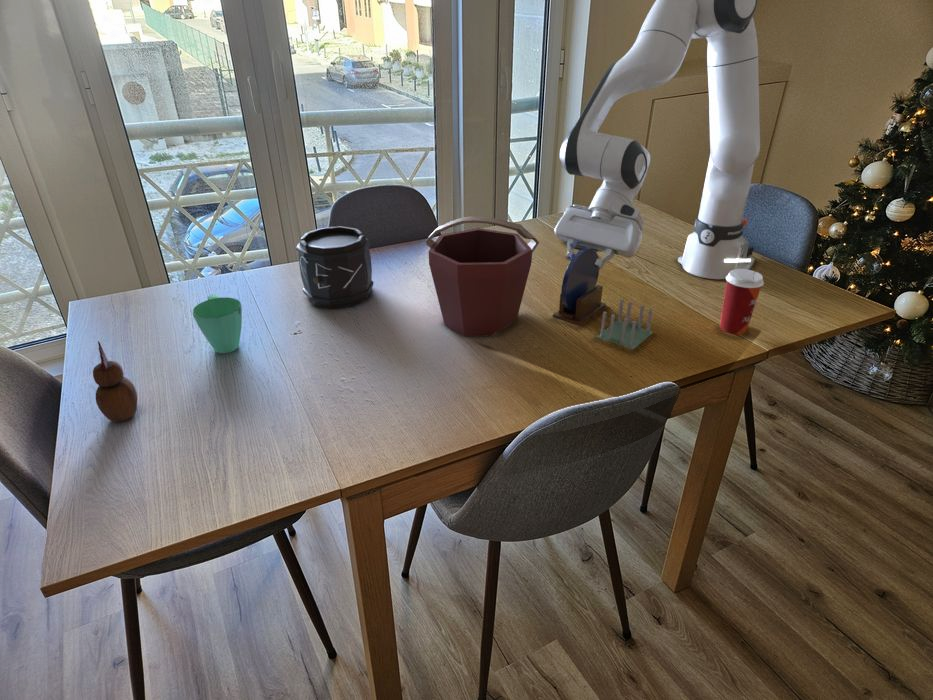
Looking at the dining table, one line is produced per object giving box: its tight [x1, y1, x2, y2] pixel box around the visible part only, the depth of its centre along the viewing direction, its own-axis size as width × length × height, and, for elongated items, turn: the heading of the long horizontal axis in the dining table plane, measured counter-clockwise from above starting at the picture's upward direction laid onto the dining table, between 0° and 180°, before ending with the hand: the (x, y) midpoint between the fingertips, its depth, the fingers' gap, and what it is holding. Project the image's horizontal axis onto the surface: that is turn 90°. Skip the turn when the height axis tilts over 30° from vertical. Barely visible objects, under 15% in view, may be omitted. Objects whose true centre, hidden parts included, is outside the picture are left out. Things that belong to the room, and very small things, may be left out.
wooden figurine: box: [92, 340, 138, 423], centre depth 110 cm, size 7×6×15 cm
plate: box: [560, 248, 600, 312], centre depth 143 cm, size 15×1×15 cm, turn 140°
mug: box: [192, 293, 243, 354], centre depth 134 cm, size 15×10×10 cm
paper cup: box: [719, 269, 765, 335], centre depth 136 cm, size 8×8×14 cm
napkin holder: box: [552, 284, 607, 326], centre depth 145 cm, size 13×7×6 cm, turn 140°
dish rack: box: [595, 298, 654, 350], centre depth 135 cm, size 10×9×7 cm
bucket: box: [425, 215, 540, 337], centre depth 138 cm, size 24×22×25 cm
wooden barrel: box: [295, 225, 374, 310], centre depth 154 cm, size 18×18×16 cm
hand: (582, 263), depth 140 cm, fingers open, 6 cm apart
